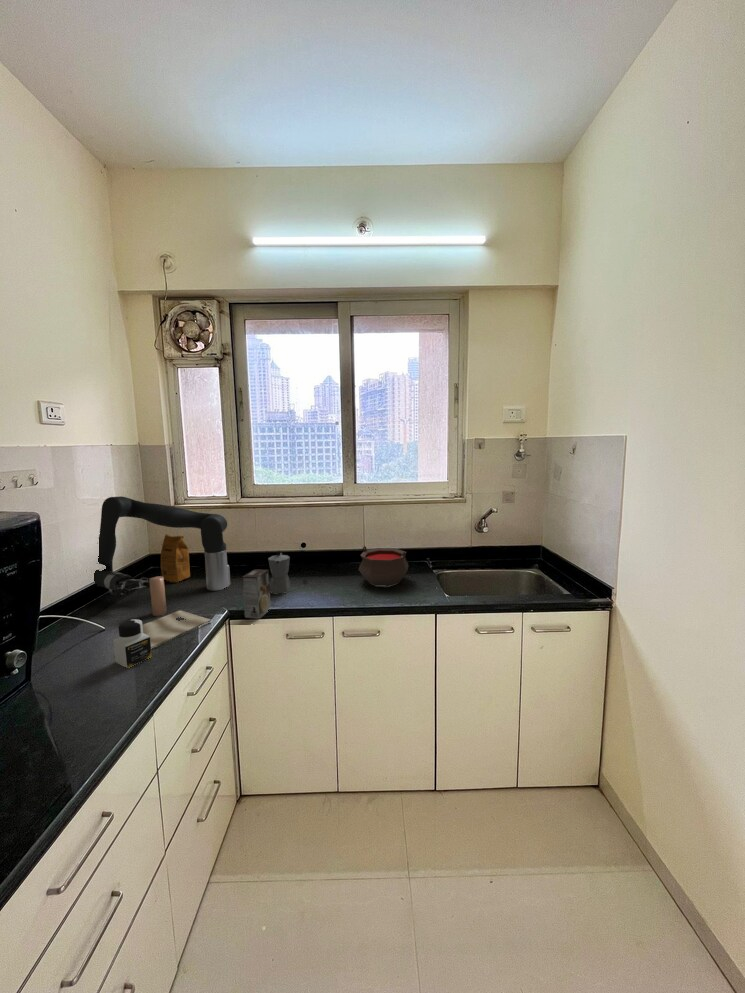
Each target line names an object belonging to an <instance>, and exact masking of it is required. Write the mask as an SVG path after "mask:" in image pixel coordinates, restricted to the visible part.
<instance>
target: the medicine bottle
mask: <svg viewBox="0 0 745 993" xmlns="http://www.w3.org/2000/svg"><path fill="white" fill-rule="evenodd" d="M142 625H143V621H142V620H140V619H137V618H136V619H135V618H134V619H133V618H132V619H129V620H125V621H123V622H121V623H120V624H119V625H118V626H117V627H118V636H119V637H117V638H115V639H113V649H114V651H113V652H114V662H115V663H116V664H118V665H120V666H122V667H124V668H125V667H126V669H127V668H128V669H130V667H131V668H133V667H135V666H137V665H139V664H141V663H143V662H142V661H144V660H146V659H148V660H150V659H152V658H151V657H153V656H152V650H151V643H150V636H148V635H146V634H144V633H143V626H142ZM149 658H150V659H149ZM146 661H147V660H146ZM140 662H141V663H140ZM144 662H145V661H144ZM138 663H139V664H138ZM136 664H137V665H136ZM134 665H135V666H134ZM132 666H133V667H132Z"/></svg>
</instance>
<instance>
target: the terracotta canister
mask: <svg viewBox="0 0 745 993" xmlns="http://www.w3.org/2000/svg"><path fill="white" fill-rule="evenodd" d="M149 581H150V588H149V592H150V601H151V602H150V603H151V613H152V616H153V617H160V616H165V615H166V614H167V612H168V611H167V600H166V589H165V581H164V577H162V575H160V576H159V575H158V576H154V577H149Z"/></svg>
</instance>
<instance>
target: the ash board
mask: <svg viewBox="0 0 745 993" xmlns="http://www.w3.org/2000/svg"><path fill="white" fill-rule="evenodd" d="M178 617H179V618H180V617H181V618H184V620H180V621H178V620H176V618H178ZM185 619H186V620H185ZM210 620H211V619H210V618H206V617H203V616H200V615H196V614H195V613H194V614H193V613H191V612H187V611H184V610H176V611H174V612H172V613H170V614H168V615H163V616H162V617H159V618H157V619H154V620H151V621H150V622H147V623H144V624H142V626H143V633H144V634H146V635H148V636H150V643H151V649H152V648H154V647H157V646H158V645H160V644H162V643H164V642H166V641H168V640H170V639H172V638H174V637H176V636H178V635H180V634H182V633H184V632H186V631H189V630H191V629H193V628H196V627H198V626H200V625H202V624H204V623H206V622H208V621H210Z"/></svg>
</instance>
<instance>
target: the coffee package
mask: <svg viewBox="0 0 745 993" xmlns="http://www.w3.org/2000/svg"><path fill="white" fill-rule="evenodd" d="M190 565H191V564H190V554H189V547H188V546H187V544H186V543H185V542H184V536H183V535H177V536H175V535H173V536H171V535H169V534H165V536H164V538H163V542H162V546H161V550H160V570H161V576H162V577H164V580H166V581H165V582H168V581H169V582H168V583H180V582H181V581H183V580H186V579H188V578H190V577H191V571H190V570H191V568H190ZM179 581H180V582H179Z"/></svg>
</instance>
